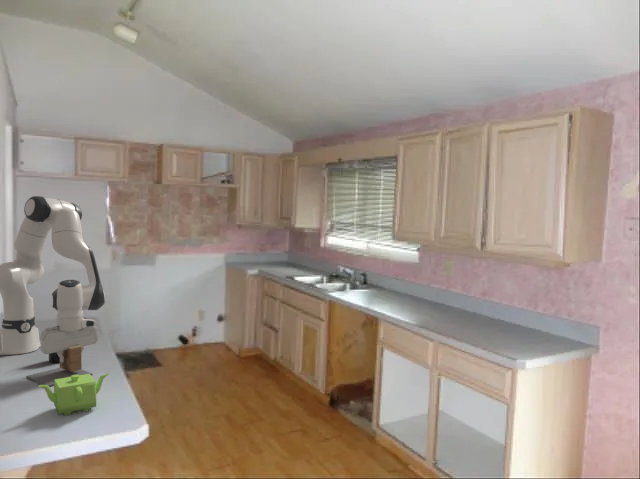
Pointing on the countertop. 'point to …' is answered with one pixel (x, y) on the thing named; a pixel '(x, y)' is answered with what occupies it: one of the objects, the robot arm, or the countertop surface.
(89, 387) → the teapot
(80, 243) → the robot arm
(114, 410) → the countertop surface
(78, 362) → the slab
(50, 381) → the mat
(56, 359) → the supplement bottle
